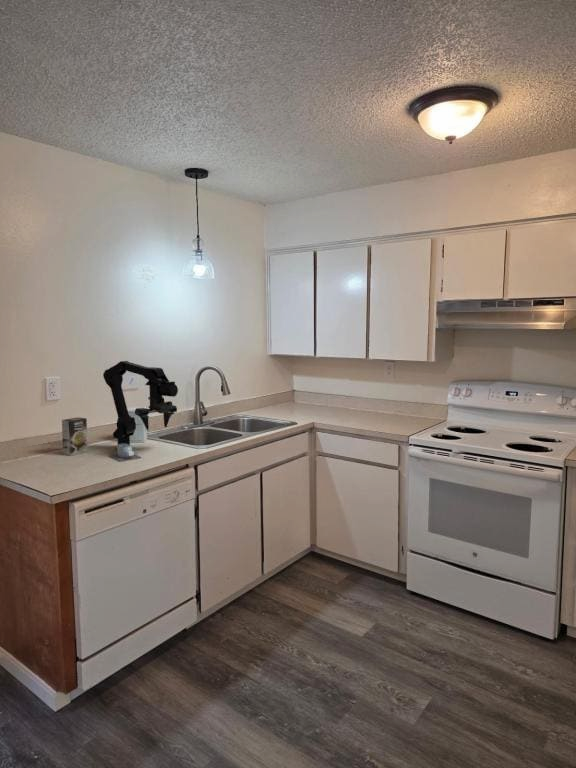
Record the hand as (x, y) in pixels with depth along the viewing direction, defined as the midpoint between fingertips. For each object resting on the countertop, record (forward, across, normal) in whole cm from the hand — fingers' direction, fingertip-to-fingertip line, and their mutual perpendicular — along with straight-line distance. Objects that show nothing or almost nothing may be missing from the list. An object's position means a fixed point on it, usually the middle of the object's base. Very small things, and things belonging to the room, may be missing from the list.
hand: (156, 428), depth 233 cm
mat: (+12, -14, +4) cm, 19 cm away
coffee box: (+12, -28, +26) cm, 40 cm away
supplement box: (+12, +5, +31) cm, 34 cm away
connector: (+12, -14, +3) cm, 18 cm away
